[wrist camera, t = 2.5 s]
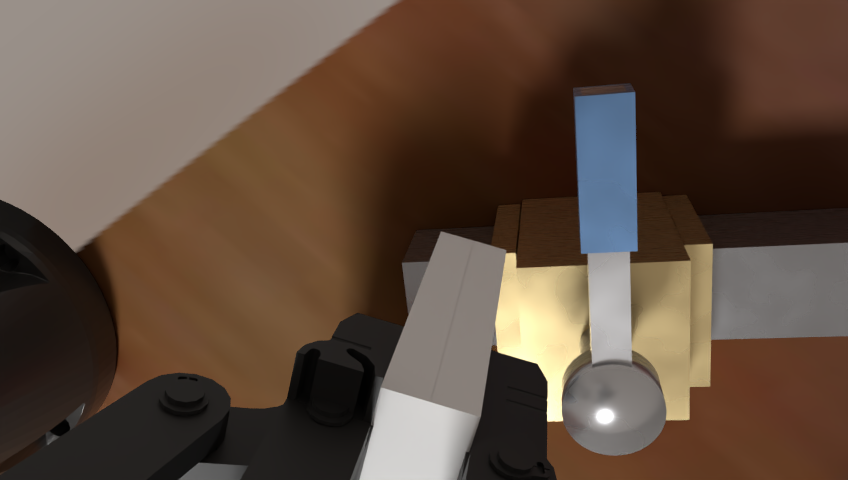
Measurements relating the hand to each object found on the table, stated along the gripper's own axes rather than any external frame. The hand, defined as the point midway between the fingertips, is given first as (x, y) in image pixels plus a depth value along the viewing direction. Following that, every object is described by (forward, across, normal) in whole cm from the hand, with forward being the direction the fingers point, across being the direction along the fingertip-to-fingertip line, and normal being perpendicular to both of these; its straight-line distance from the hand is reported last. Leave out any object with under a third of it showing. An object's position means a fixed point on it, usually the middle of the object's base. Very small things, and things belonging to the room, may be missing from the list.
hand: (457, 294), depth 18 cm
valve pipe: (+18, +7, -5) cm, 20 cm away
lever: (+7, +4, -1) cm, 8 cm away
